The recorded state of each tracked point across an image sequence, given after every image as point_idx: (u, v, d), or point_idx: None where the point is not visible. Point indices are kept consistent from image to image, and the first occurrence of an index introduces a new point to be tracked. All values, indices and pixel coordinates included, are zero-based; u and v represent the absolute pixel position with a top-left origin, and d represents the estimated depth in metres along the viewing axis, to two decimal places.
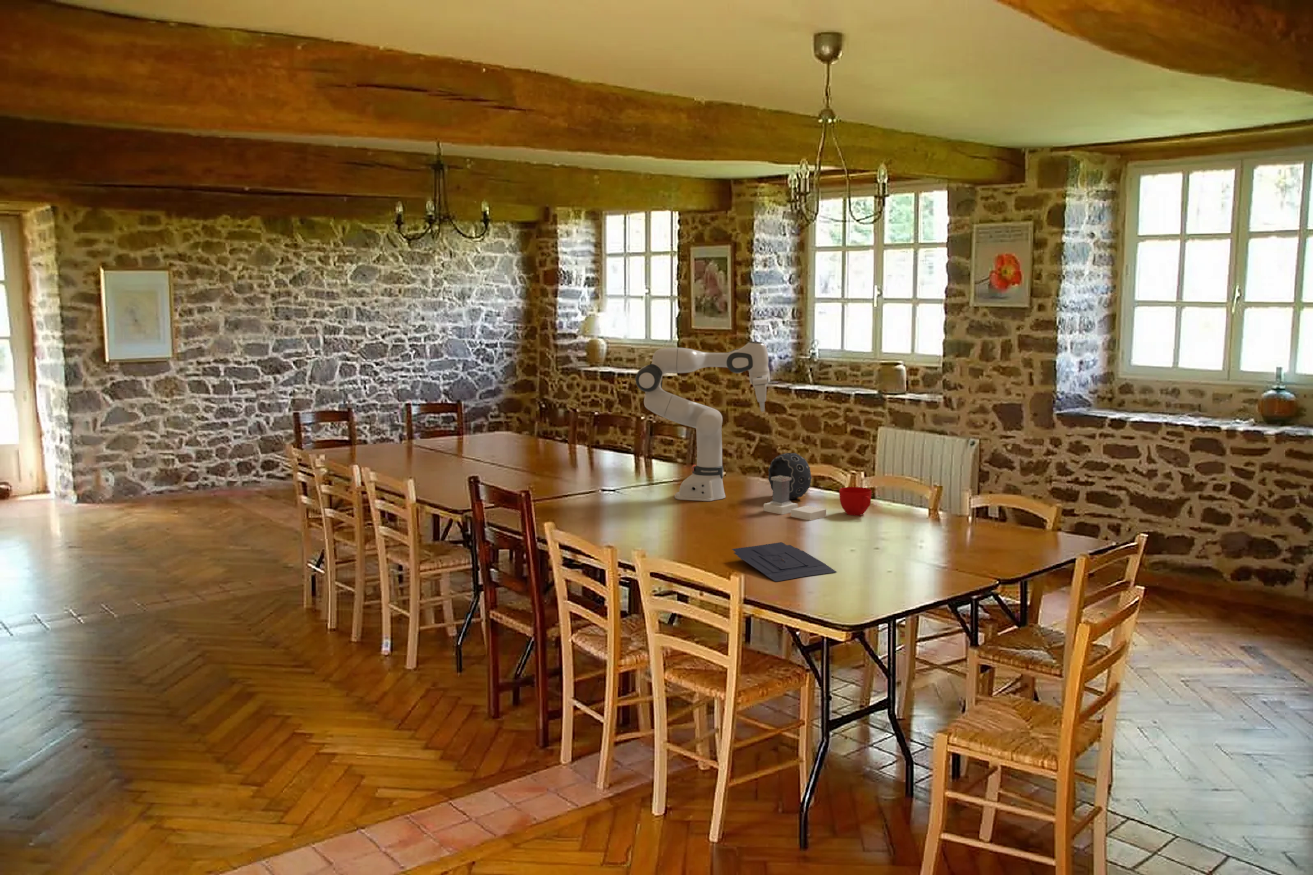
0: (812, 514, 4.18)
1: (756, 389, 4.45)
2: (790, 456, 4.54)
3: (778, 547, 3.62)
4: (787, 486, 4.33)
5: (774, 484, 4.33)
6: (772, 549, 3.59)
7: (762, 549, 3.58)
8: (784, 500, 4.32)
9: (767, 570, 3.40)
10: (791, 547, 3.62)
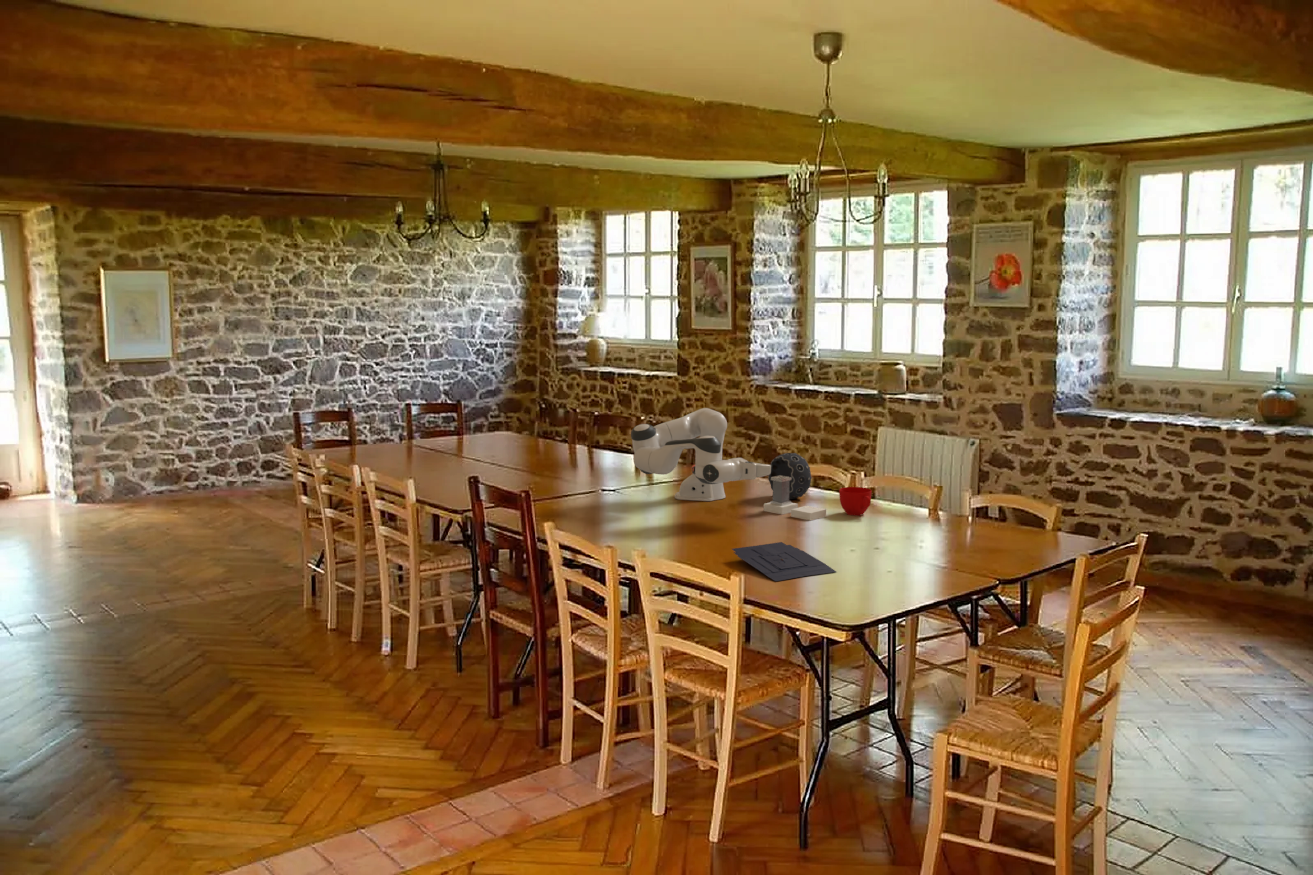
0: (812, 514, 4.18)
1: (761, 475, 4.10)
2: (790, 456, 4.54)
3: (777, 547, 3.62)
4: (787, 486, 4.33)
5: (774, 484, 4.33)
6: (772, 549, 3.59)
7: (762, 549, 3.58)
8: (784, 500, 4.32)
9: (767, 570, 3.40)
10: (791, 547, 3.62)
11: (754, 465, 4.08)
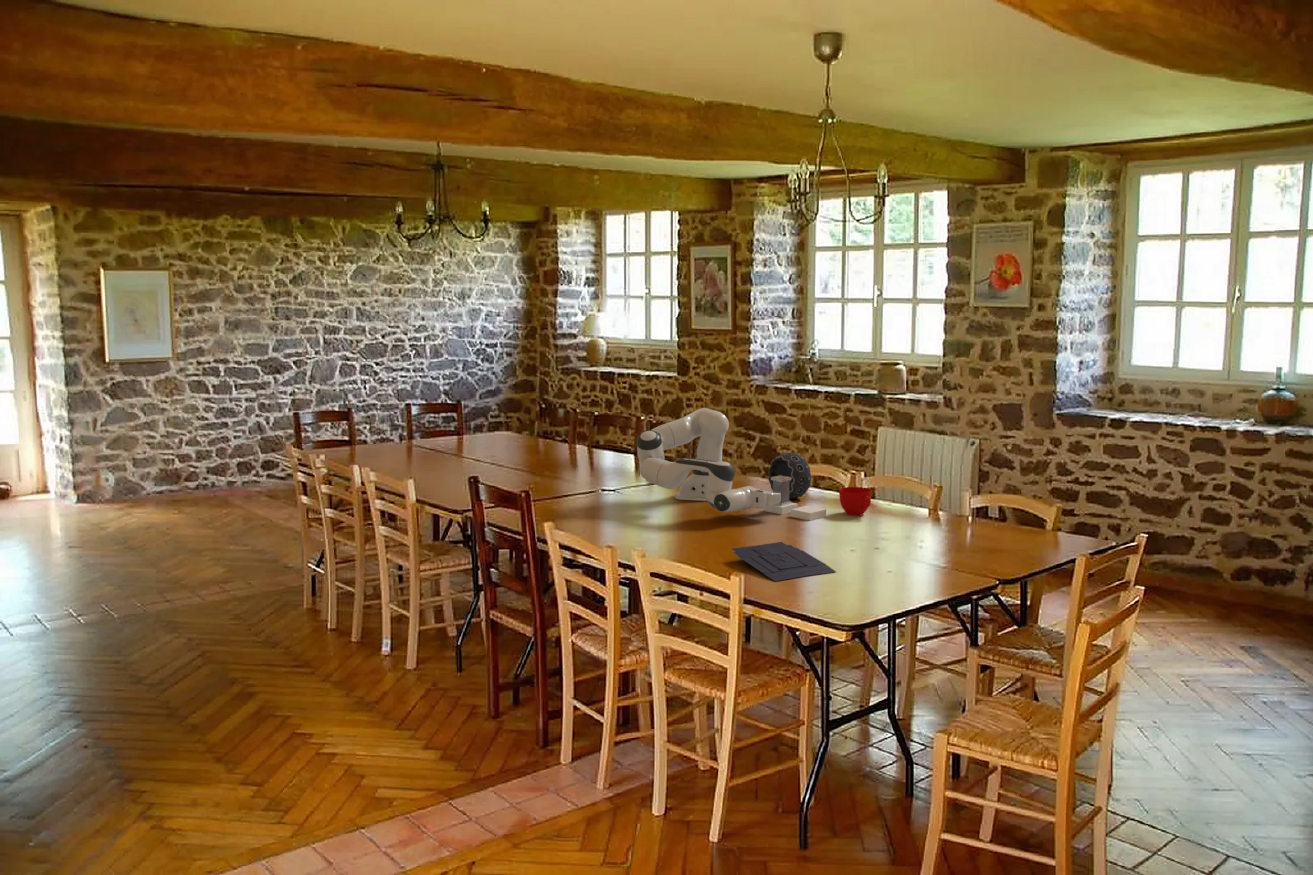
0: (812, 514, 4.18)
1: (771, 503, 4.15)
2: (790, 456, 4.54)
3: (777, 547, 3.62)
4: (787, 486, 4.33)
5: (774, 484, 4.33)
6: (772, 549, 3.59)
7: (762, 549, 3.58)
8: (784, 500, 4.32)
9: (767, 570, 3.40)
10: (791, 547, 3.62)
11: (764, 494, 4.13)
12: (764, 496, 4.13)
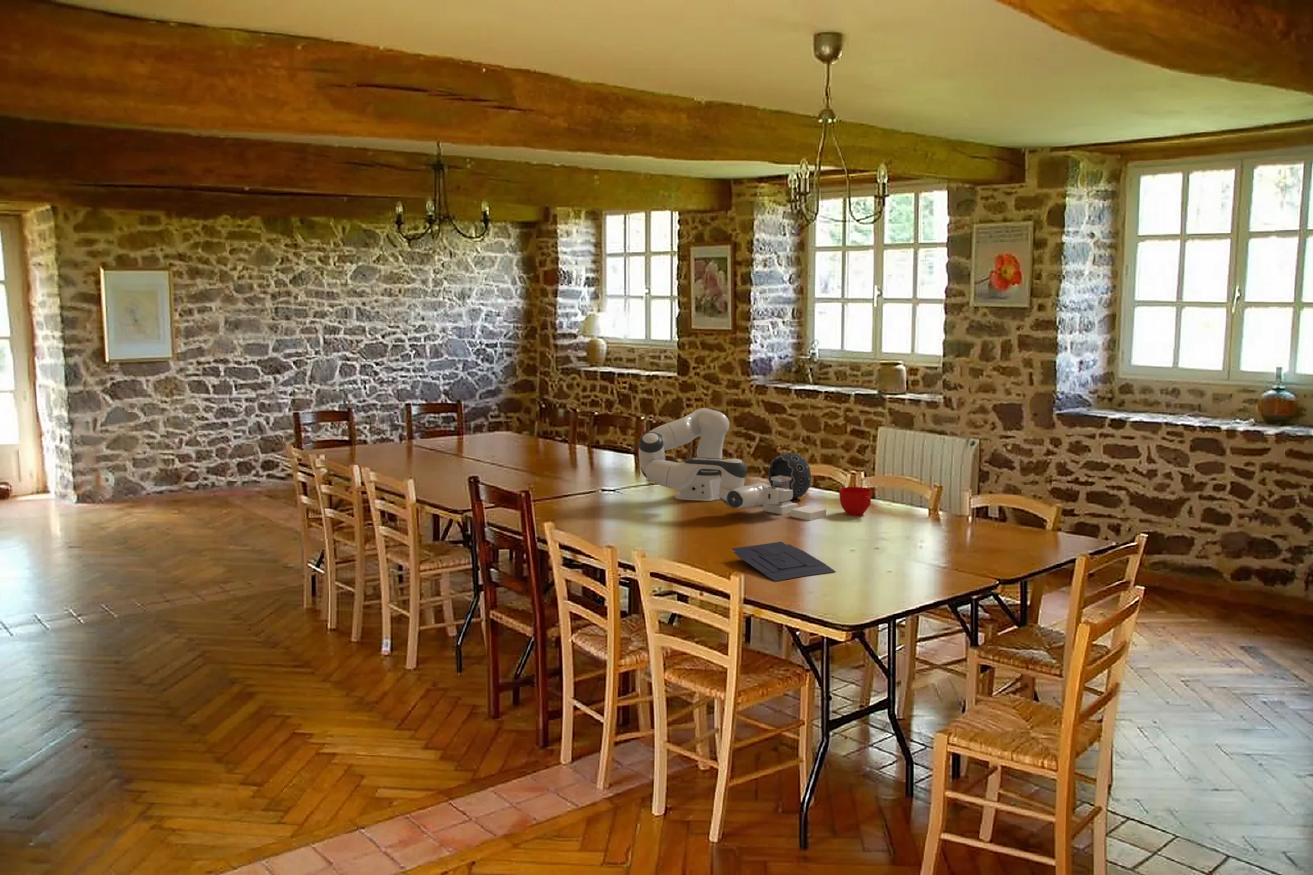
0: (812, 514, 4.18)
1: (783, 500, 4.21)
2: (790, 456, 4.54)
3: (777, 546, 3.62)
4: (787, 486, 4.33)
5: (774, 484, 4.33)
6: (772, 548, 3.59)
7: (762, 548, 3.58)
8: None
9: (766, 570, 3.40)
10: (790, 547, 3.62)
11: (777, 490, 4.19)
12: (776, 492, 4.19)
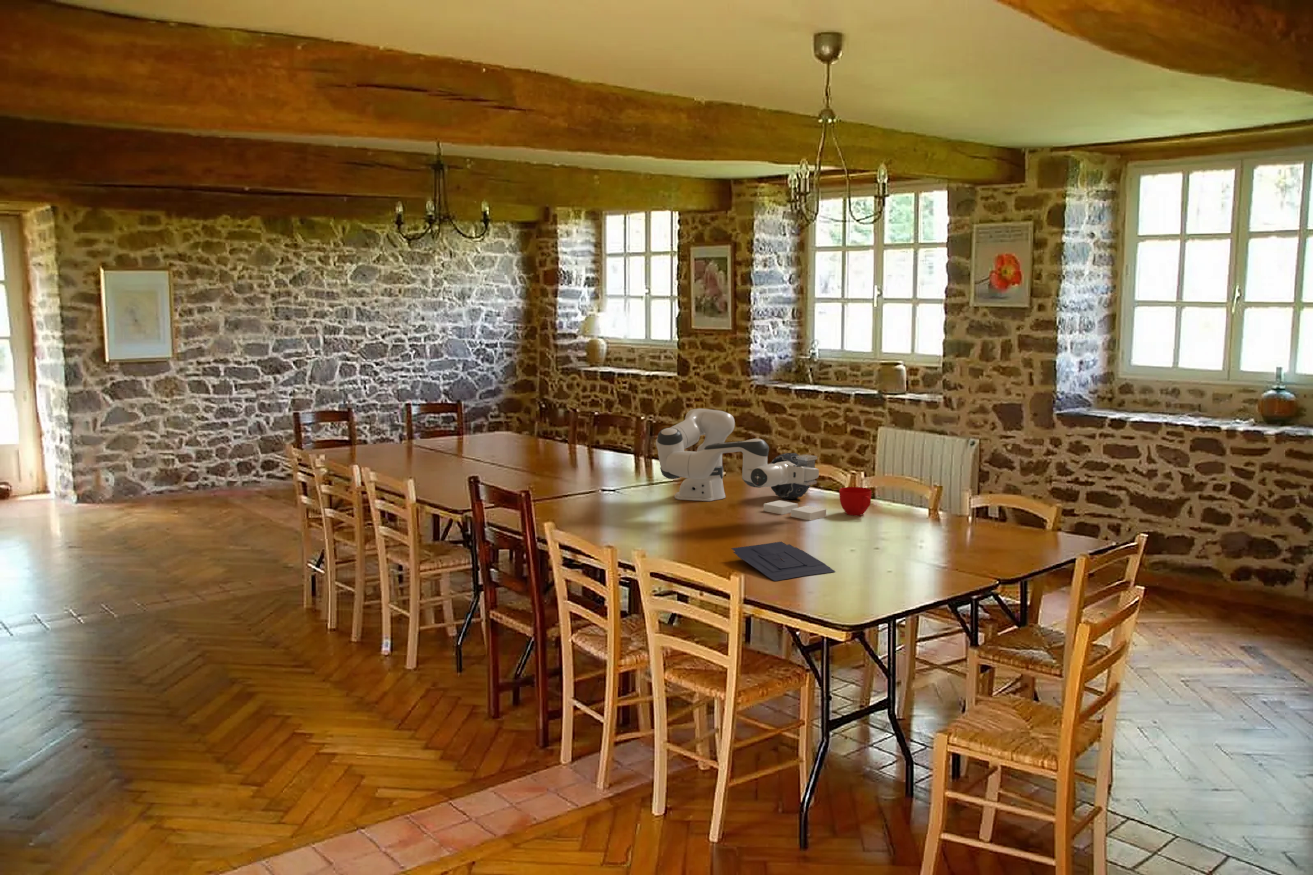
0: (812, 514, 4.18)
1: (809, 479, 4.08)
2: (790, 456, 4.54)
3: (777, 546, 3.62)
4: (813, 465, 4.20)
5: (799, 463, 4.20)
6: (771, 548, 3.59)
7: (761, 548, 3.58)
8: (809, 480, 4.19)
9: (766, 569, 3.40)
10: (790, 547, 3.62)
11: (802, 469, 4.06)
12: (802, 471, 4.06)
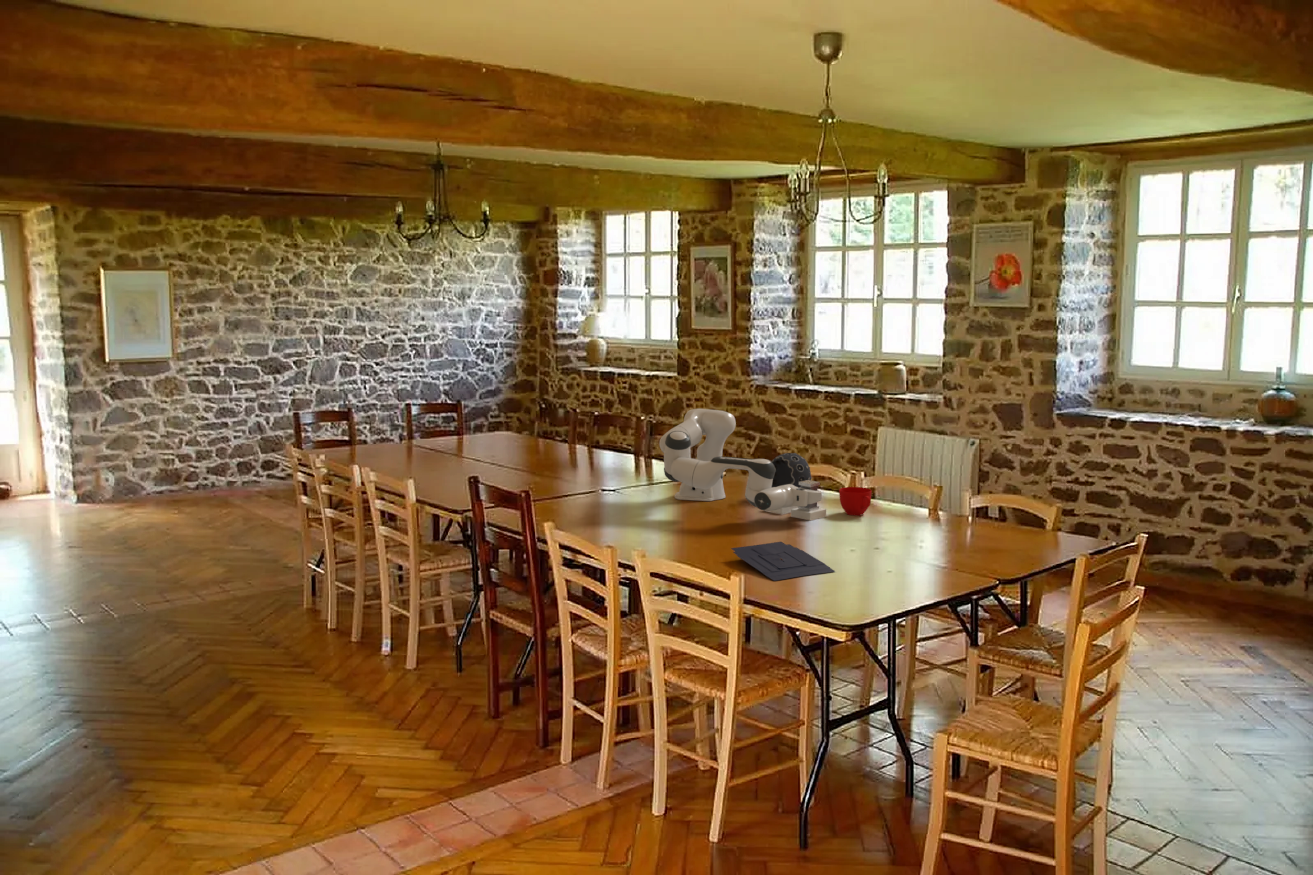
0: (812, 514, 4.18)
1: (812, 502, 4.10)
2: (790, 456, 4.54)
3: (777, 546, 3.62)
4: None
5: None
6: (771, 548, 3.59)
7: (761, 548, 3.59)
8: (812, 506, 4.21)
9: (766, 569, 3.40)
10: (790, 547, 3.62)
11: (805, 492, 4.08)
12: (805, 494, 4.08)
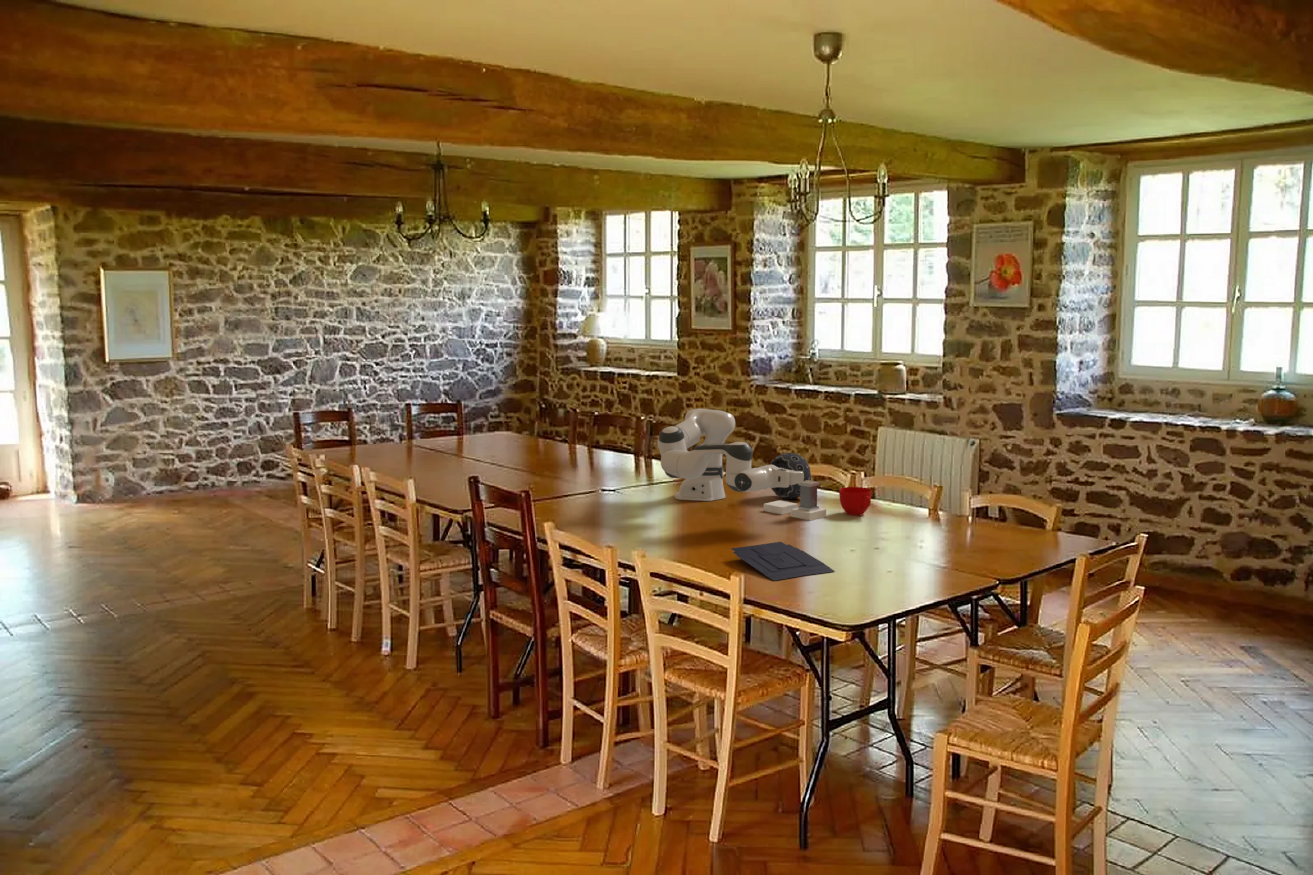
0: (812, 514, 4.18)
1: (794, 483, 3.99)
2: (790, 456, 4.54)
3: (777, 546, 3.62)
4: (815, 491, 4.22)
5: (802, 489, 4.22)
6: (771, 548, 3.60)
7: (761, 548, 3.59)
8: (812, 506, 4.21)
9: (765, 569, 3.41)
10: (790, 547, 3.62)
11: (787, 473, 3.97)
12: (787, 475, 3.97)
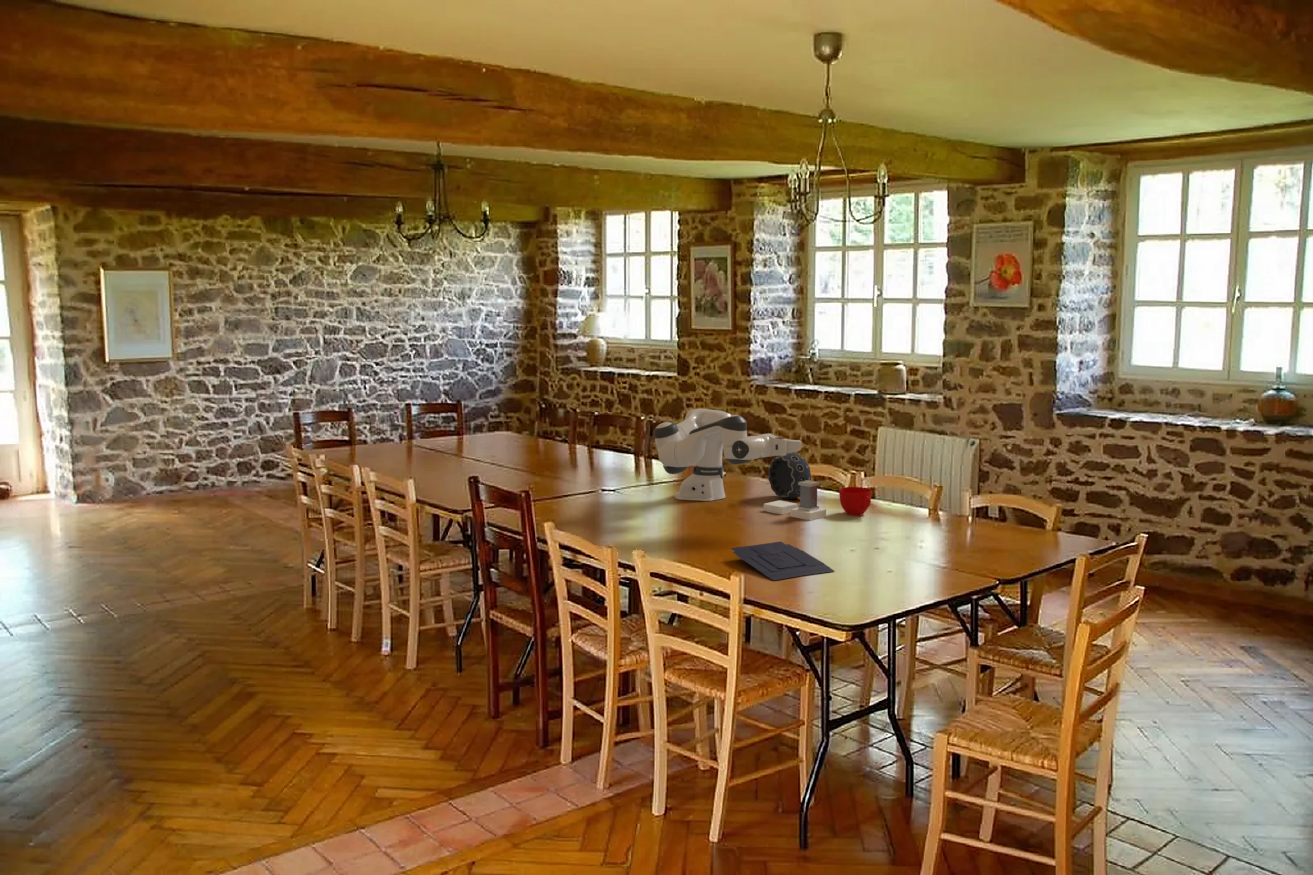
0: (812, 514, 4.18)
1: (792, 451, 3.98)
2: (790, 456, 4.54)
3: (777, 546, 3.63)
4: (815, 491, 4.22)
5: (802, 489, 4.22)
6: (771, 548, 3.60)
7: (761, 548, 3.59)
8: (812, 506, 4.21)
9: (765, 569, 3.41)
10: (790, 547, 3.63)
11: (784, 441, 3.96)
12: (784, 443, 3.96)
